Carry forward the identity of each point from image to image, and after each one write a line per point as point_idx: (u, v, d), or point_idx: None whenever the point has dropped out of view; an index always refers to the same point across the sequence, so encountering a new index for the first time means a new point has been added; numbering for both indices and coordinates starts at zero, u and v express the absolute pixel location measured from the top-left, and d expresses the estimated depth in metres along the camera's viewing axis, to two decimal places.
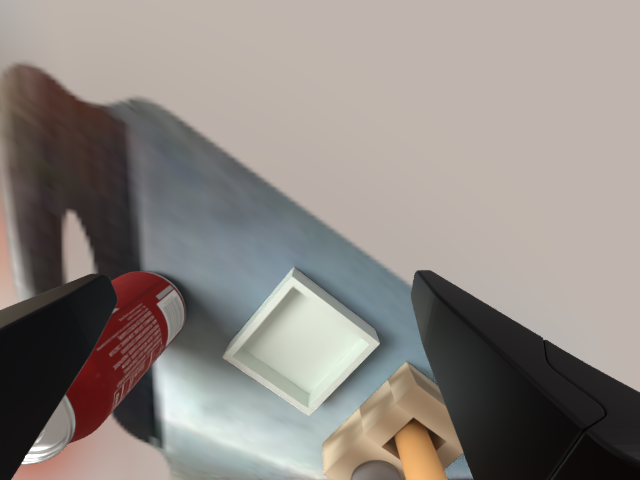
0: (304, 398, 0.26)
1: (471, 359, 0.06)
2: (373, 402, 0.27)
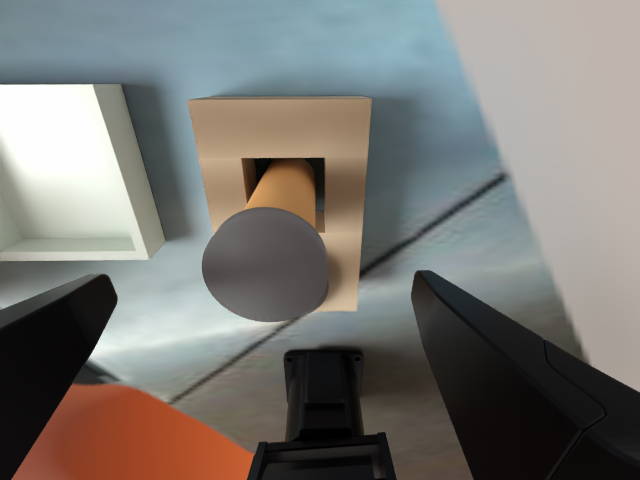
0: None
1: (471, 359, 0.06)
2: None
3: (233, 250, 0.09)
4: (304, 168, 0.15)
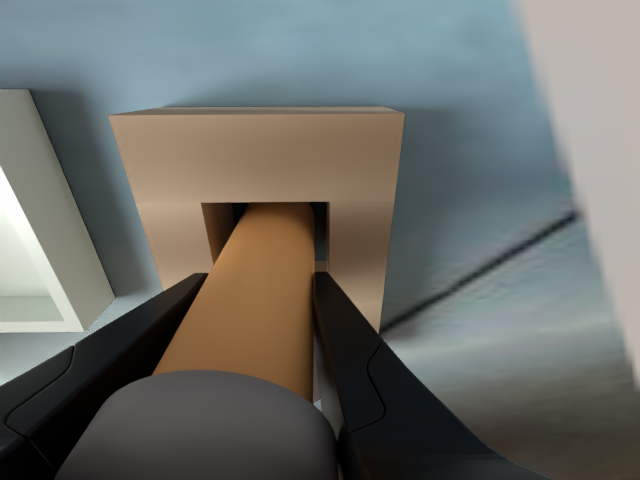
0: None
1: (323, 361, 0.06)
2: None
3: None
4: (298, 211, 0.11)
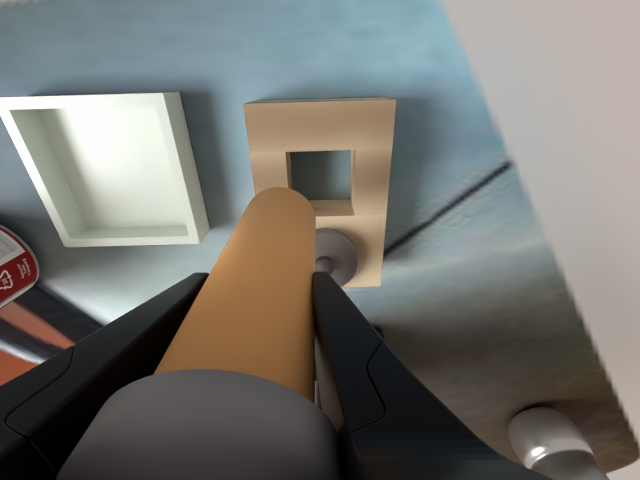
0: (187, 231, 0.21)
1: (323, 361, 0.06)
2: None
3: (123, 479, 0.04)
4: (299, 211, 0.11)
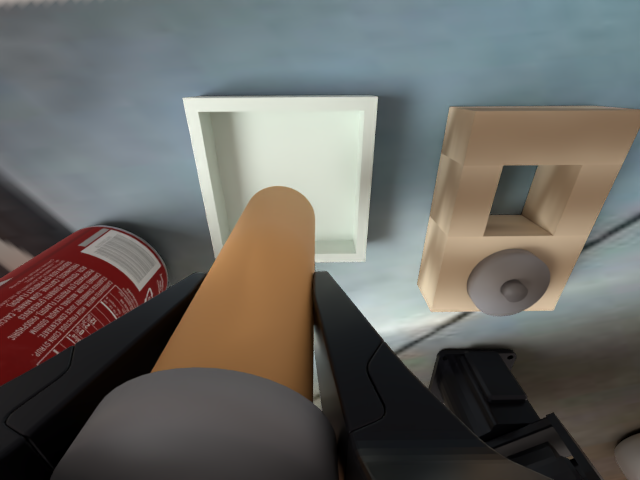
0: (347, 247, 0.19)
1: (323, 361, 0.06)
2: (439, 194, 0.18)
3: (118, 478, 0.04)
4: (298, 210, 0.11)
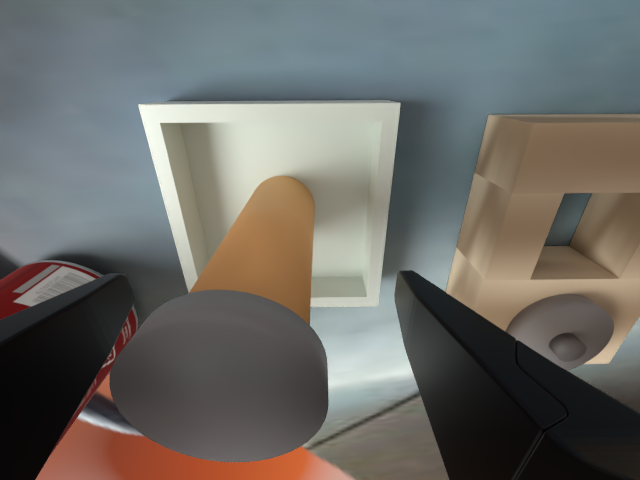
0: (355, 287, 0.15)
1: (446, 359, 0.06)
2: (472, 223, 0.14)
3: (162, 369, 0.05)
4: (299, 195, 0.12)
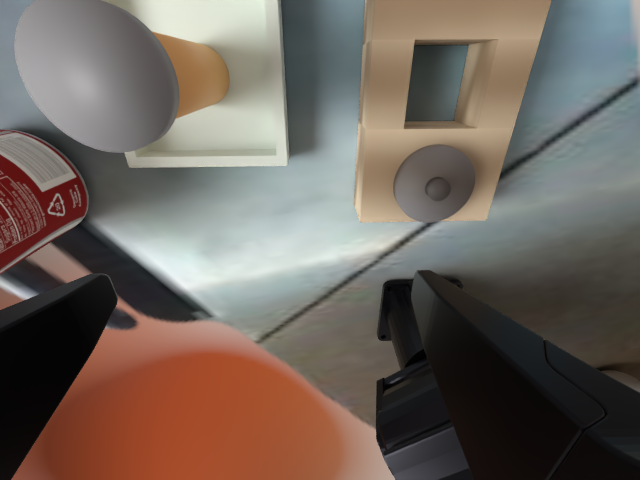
0: (270, 152, 0.18)
1: (471, 359, 0.06)
2: (362, 90, 0.17)
3: (48, 44, 0.08)
4: (205, 48, 0.14)
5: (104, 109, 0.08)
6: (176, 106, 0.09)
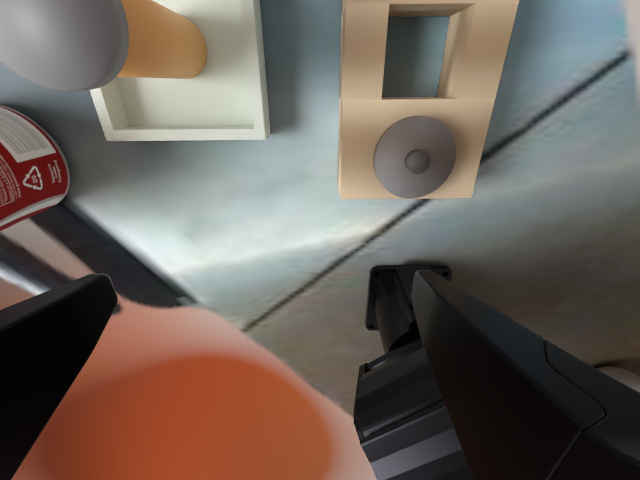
0: (249, 127, 0.18)
1: (471, 359, 0.06)
2: (341, 62, 0.17)
3: None
4: (178, 15, 0.14)
5: (47, 41, 0.08)
6: (125, 43, 0.09)
